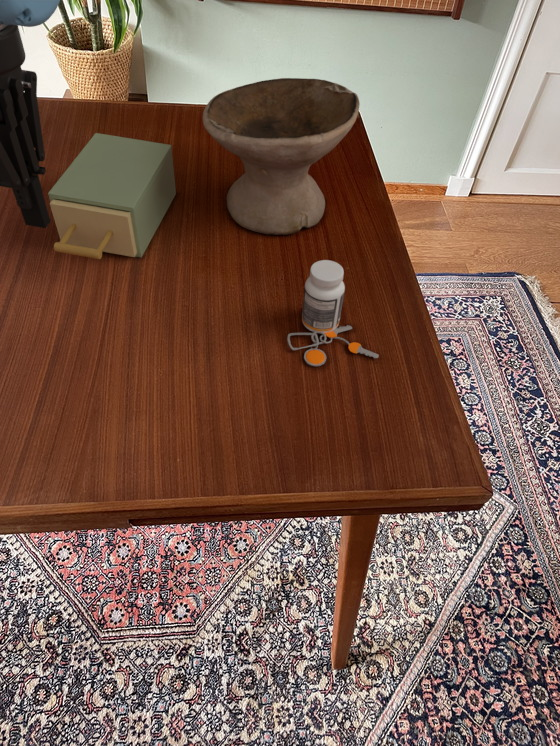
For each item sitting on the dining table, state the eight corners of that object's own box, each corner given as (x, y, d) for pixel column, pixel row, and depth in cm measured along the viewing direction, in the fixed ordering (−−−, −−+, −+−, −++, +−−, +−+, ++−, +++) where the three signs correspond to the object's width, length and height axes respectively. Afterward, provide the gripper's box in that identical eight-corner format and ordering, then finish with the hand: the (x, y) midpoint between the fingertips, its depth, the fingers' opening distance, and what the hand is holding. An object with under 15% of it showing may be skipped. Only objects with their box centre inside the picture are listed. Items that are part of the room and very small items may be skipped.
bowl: (295, 154, 116) (304, 49, 101) (373, 221, 104) (397, 113, 88) (181, 188, 107) (171, 78, 91) (251, 267, 94) (254, 155, 78)
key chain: (292, 368, 81) (293, 364, 80) (284, 330, 85) (285, 326, 85) (379, 361, 83) (381, 357, 82) (367, 324, 87) (368, 320, 87)
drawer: (120, 282, 89) (112, 242, 83) (44, 268, 90) (30, 227, 84) (168, 195, 103) (164, 156, 97) (102, 184, 104) (94, 144, 98)
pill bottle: (316, 304, 90) (322, 252, 82) (346, 321, 87) (355, 268, 80) (293, 323, 86) (298, 270, 79) (324, 341, 84) (332, 288, 77)
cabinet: (141, 257, 94) (133, 207, 86) (62, 243, 95) (47, 193, 88) (176, 193, 106) (171, 144, 98) (105, 181, 107) (95, 132, 99)
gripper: (-24, 52, 52) (43, 259, 70) (42, 3, 60) (86, 199, 78) (-102, 40, 52) (-16, 249, 70) (-26, -7, 60) (34, 190, 79)
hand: (38, 223), depth 74 cm, fingers closed
